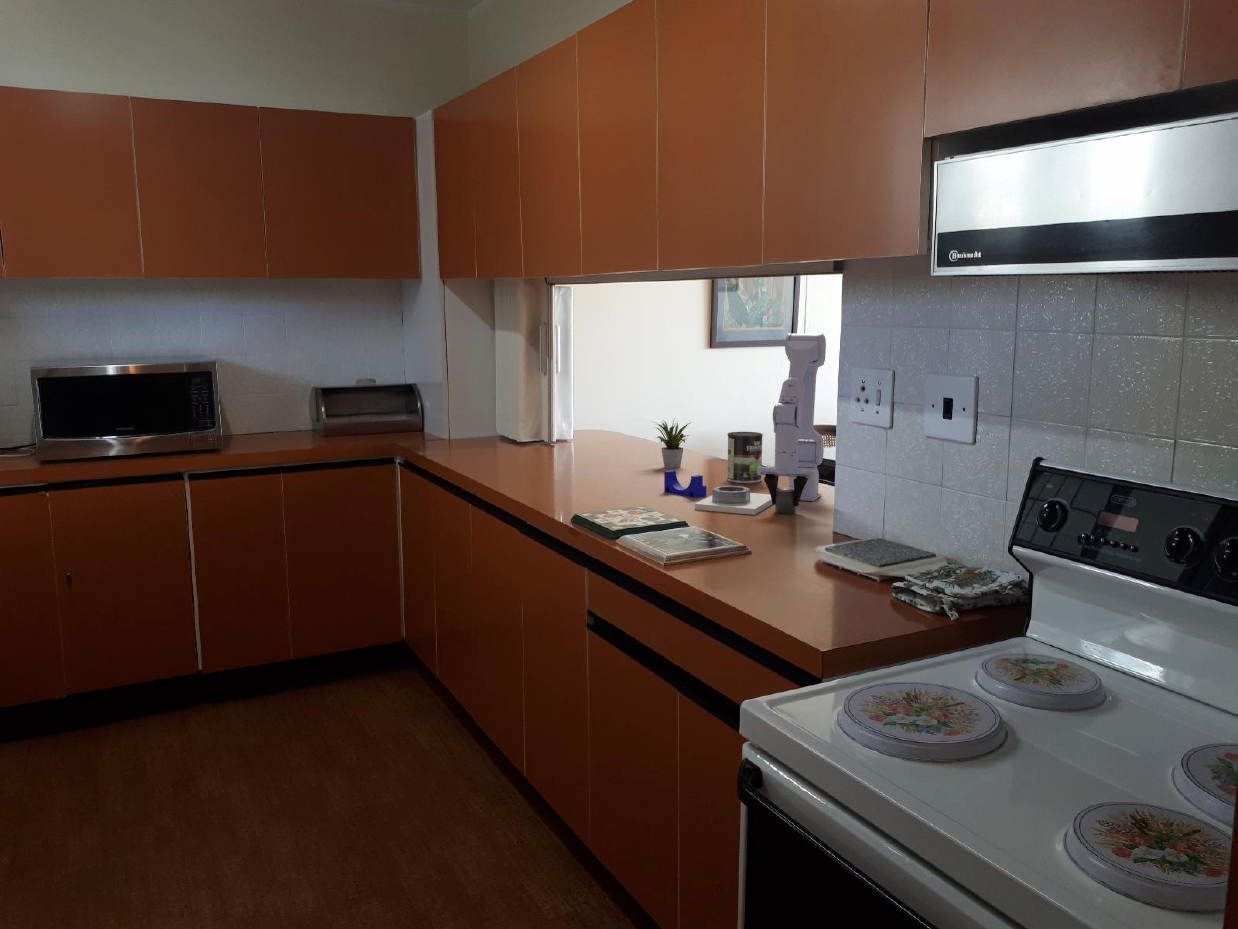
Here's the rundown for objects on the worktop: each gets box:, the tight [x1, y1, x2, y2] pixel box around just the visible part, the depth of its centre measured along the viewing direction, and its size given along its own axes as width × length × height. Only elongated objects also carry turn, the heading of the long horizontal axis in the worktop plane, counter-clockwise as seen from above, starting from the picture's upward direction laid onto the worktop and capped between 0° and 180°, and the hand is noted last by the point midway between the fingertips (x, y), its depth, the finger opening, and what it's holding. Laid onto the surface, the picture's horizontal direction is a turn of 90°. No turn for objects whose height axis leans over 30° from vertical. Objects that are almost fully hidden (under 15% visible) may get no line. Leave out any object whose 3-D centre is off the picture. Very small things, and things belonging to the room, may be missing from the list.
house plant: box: [649, 417, 693, 469], centre depth 318 cm, size 14×14×16 cm
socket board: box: [694, 485, 772, 516], centre depth 259 cm, size 20×16×4 cm
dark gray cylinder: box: [774, 486, 796, 515], centre depth 249 cm, size 5×5×6 cm
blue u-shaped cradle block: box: [663, 469, 708, 499], centre depth 274 cm, size 12×4×6 cm, turn 41°
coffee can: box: [726, 431, 764, 484], centre depth 294 cm, size 10×10×14 cm
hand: (785, 504), depth 249 cm, fingers closed on dark gray cylinder, 5 cm apart
